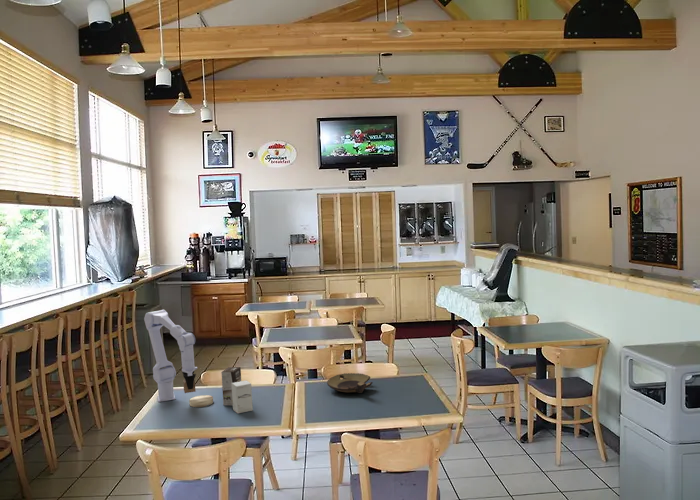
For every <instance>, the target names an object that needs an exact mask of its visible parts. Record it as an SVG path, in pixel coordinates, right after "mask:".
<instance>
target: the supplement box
mask: <svg viewBox="0 0 700 500" xmlns="http://www.w3.org/2000/svg"><path fill="white" fill-rule="evenodd" d="M231 385H232V401H233V405H232V410H233V411H234V412H235V413H236V414H242V413H246V412H253V411H254V409H253V394H252V393H253V391H252V382H250V381H248V380H241V381H240V382H234V383H231Z"/></svg>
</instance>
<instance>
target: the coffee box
mask: <svg viewBox="0 0 700 500" xmlns="http://www.w3.org/2000/svg"><path fill="white" fill-rule="evenodd" d="M241 369H242V368H241V366H230V367H229V366H228V367H227V368H226V369H223V370H222V371H221V373H220V374H221V388H222V405H223V406H233V401H232V385H231V383H234V382H240V381H242V371H241Z"/></svg>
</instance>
